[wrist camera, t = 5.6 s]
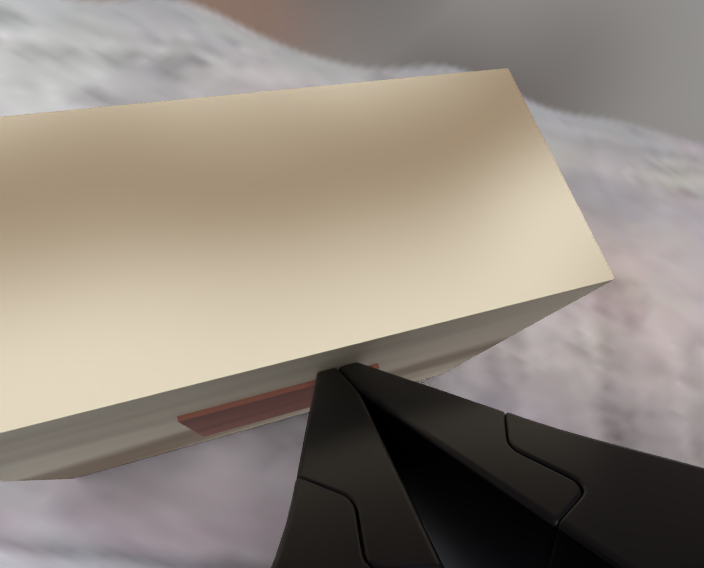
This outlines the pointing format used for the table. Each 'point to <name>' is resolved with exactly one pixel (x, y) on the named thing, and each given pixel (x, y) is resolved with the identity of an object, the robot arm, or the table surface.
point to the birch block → (264, 256)
